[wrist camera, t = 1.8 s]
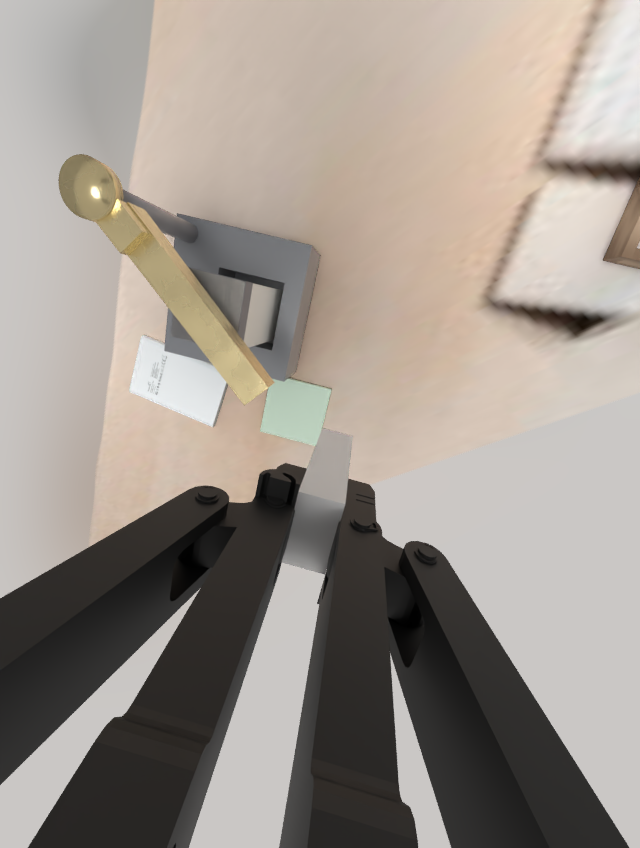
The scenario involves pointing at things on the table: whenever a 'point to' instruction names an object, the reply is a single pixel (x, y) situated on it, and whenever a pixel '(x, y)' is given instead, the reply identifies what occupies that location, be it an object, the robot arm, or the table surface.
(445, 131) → the table surface
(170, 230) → the socket block
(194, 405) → the external hard drive
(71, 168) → the clip
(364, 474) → the table surface
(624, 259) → the mug corral
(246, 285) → the plug
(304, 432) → the pad
